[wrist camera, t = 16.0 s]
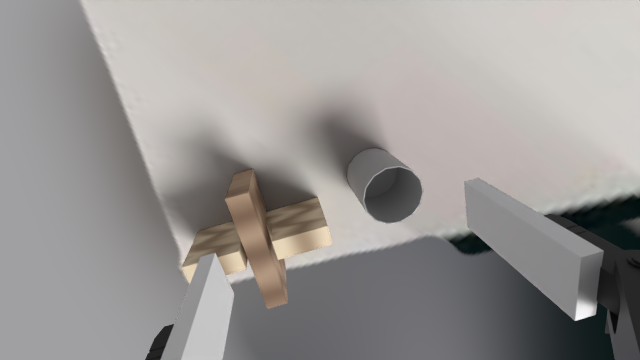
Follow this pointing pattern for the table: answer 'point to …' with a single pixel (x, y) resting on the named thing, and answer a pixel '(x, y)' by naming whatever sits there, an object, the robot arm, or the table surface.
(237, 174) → the walnut plate
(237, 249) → the notched wooden slab
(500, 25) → the table surface
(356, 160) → the cup
